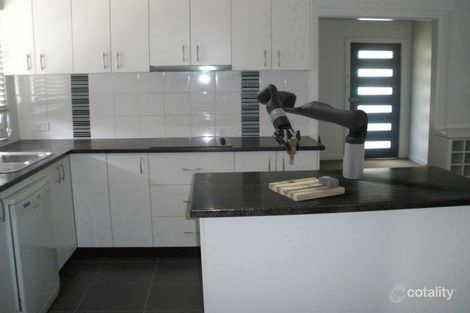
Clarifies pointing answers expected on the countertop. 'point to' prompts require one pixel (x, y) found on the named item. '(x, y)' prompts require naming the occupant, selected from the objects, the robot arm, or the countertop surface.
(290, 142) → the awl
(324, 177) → the block
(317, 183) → the board
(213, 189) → the countertop surface
